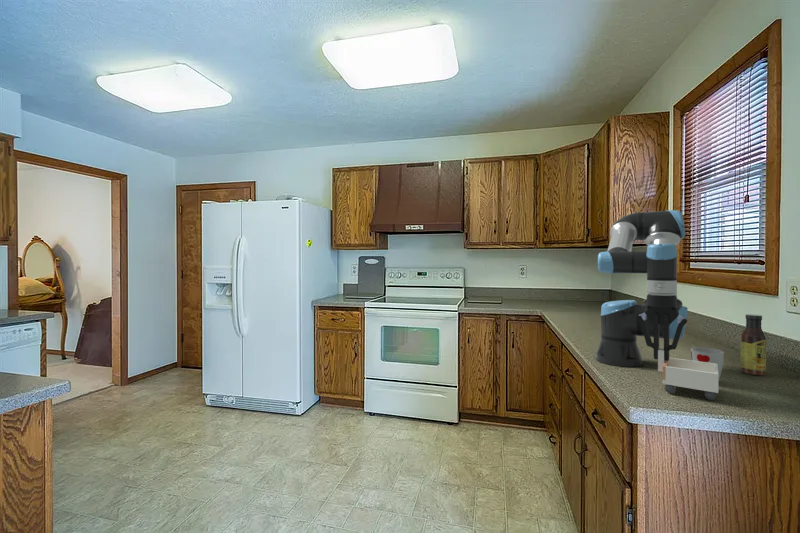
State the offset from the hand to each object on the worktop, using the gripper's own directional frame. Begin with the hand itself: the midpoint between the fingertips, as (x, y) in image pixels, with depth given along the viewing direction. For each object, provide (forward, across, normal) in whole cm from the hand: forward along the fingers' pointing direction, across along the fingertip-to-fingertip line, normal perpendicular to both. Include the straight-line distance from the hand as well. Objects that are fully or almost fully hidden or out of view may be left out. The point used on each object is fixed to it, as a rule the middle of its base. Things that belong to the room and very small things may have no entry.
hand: (661, 370), depth 113 cm
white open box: (+5, +7, 0) cm, 9 cm away
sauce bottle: (+5, +22, +34) cm, 41 cm away
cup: (+5, +11, +14) cm, 19 cm away
